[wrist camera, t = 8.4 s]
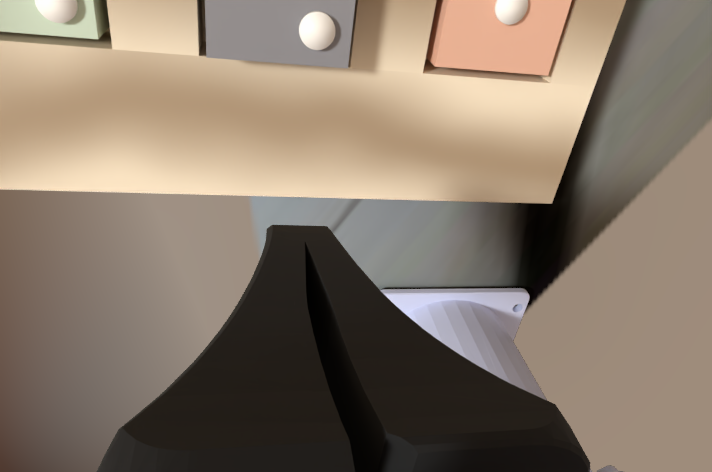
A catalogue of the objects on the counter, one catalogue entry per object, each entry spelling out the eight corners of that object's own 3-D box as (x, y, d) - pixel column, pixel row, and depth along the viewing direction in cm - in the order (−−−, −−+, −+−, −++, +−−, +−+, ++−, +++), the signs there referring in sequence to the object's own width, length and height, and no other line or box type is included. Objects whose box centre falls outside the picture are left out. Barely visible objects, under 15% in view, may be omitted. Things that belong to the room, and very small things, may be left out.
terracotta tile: (522, 59, 20) (550, 77, 18) (418, 50, 19) (437, 68, 17) (558, -66, 17) (593, -59, 16) (442, -82, 17) (466, -77, 15)
